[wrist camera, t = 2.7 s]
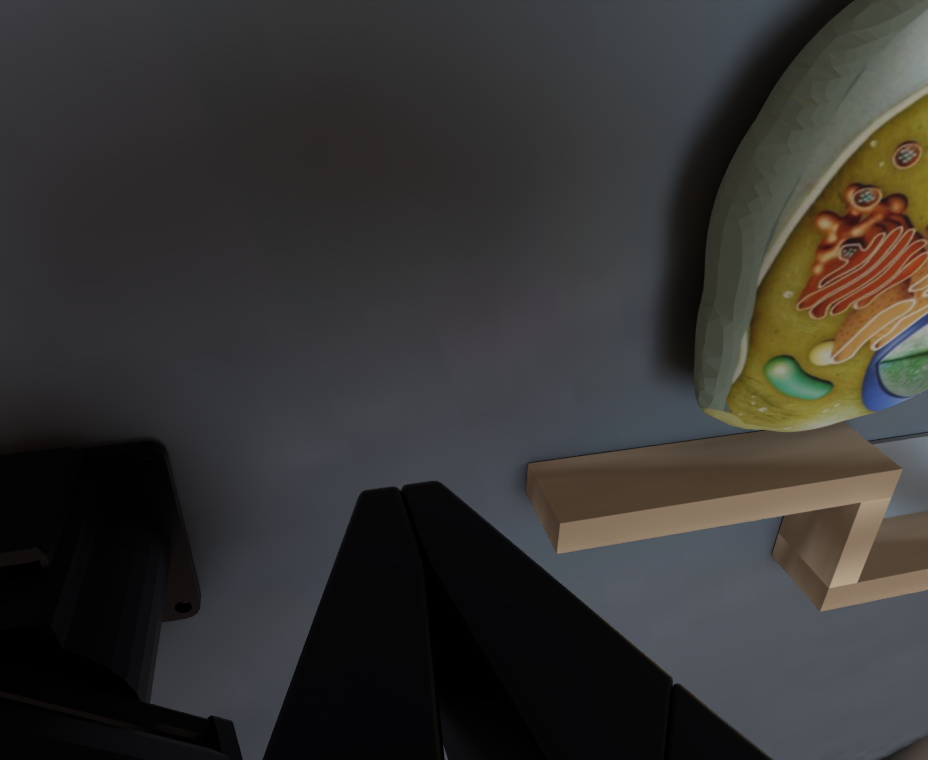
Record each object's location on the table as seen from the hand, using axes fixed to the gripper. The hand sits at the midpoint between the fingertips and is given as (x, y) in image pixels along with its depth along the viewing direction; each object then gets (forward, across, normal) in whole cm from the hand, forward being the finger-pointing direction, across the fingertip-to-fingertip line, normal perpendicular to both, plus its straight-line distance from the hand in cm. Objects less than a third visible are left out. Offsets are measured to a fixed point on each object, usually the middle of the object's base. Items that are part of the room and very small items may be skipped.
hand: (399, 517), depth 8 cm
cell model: (+12, -16, 0) cm, 20 cm away
